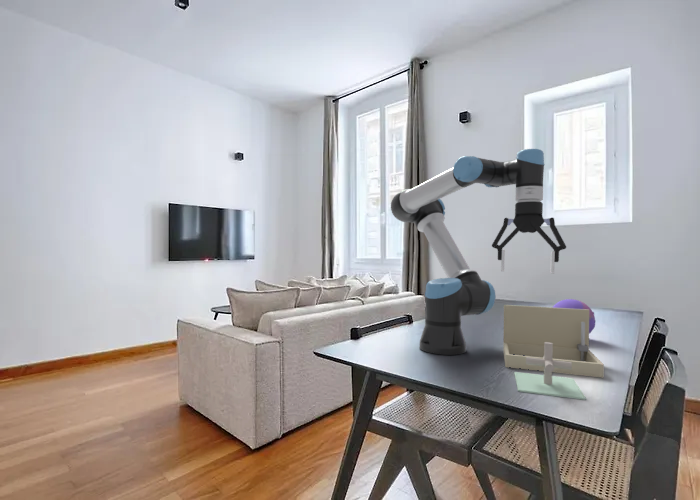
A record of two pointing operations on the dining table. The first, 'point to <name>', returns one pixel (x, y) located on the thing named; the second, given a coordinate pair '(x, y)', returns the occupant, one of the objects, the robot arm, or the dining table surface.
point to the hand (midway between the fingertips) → (526, 272)
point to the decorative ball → (577, 305)
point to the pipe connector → (548, 363)
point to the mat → (548, 386)
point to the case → (549, 338)
